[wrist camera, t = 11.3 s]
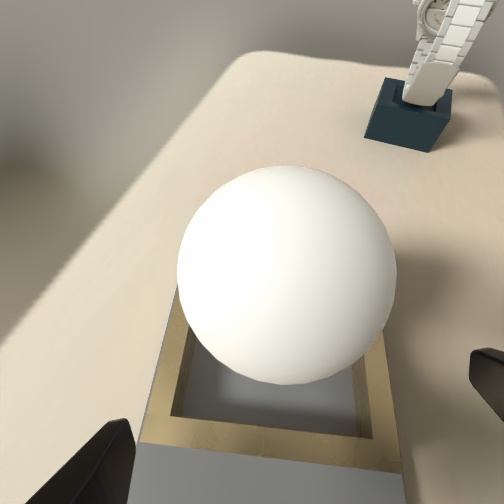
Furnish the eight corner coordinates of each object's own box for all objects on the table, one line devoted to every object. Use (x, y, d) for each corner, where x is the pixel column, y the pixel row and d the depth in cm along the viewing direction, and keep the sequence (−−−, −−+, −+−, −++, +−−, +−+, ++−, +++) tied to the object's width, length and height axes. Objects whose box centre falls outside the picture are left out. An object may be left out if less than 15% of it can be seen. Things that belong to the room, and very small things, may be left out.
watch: (433, 111, 26) (531, -56, 17) (426, 166, 23) (547, -10, 13) (374, 100, 28) (436, -63, 18) (358, 149, 24) (426, -24, 14)
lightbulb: (284, 269, 17) (321, 91, 8) (348, 358, 14) (528, 248, 5) (195, 318, 16) (106, 168, 6) (249, 427, 13) (236, 458, 3)
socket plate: (408, 583, 11) (452, 633, 8) (118, 541, 12) (82, 575, 9) (366, 257, 18) (382, 233, 16) (191, 244, 19) (182, 219, 17)
